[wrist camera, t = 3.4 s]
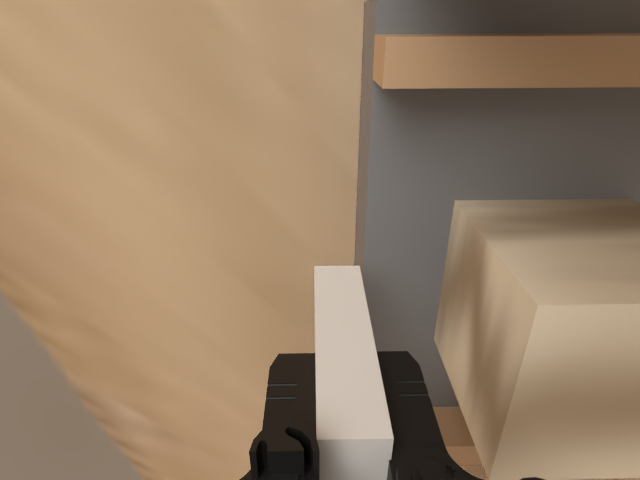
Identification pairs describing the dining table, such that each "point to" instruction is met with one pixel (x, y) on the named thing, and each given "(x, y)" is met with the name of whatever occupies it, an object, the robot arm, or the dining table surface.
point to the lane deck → (481, 142)
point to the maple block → (545, 335)
